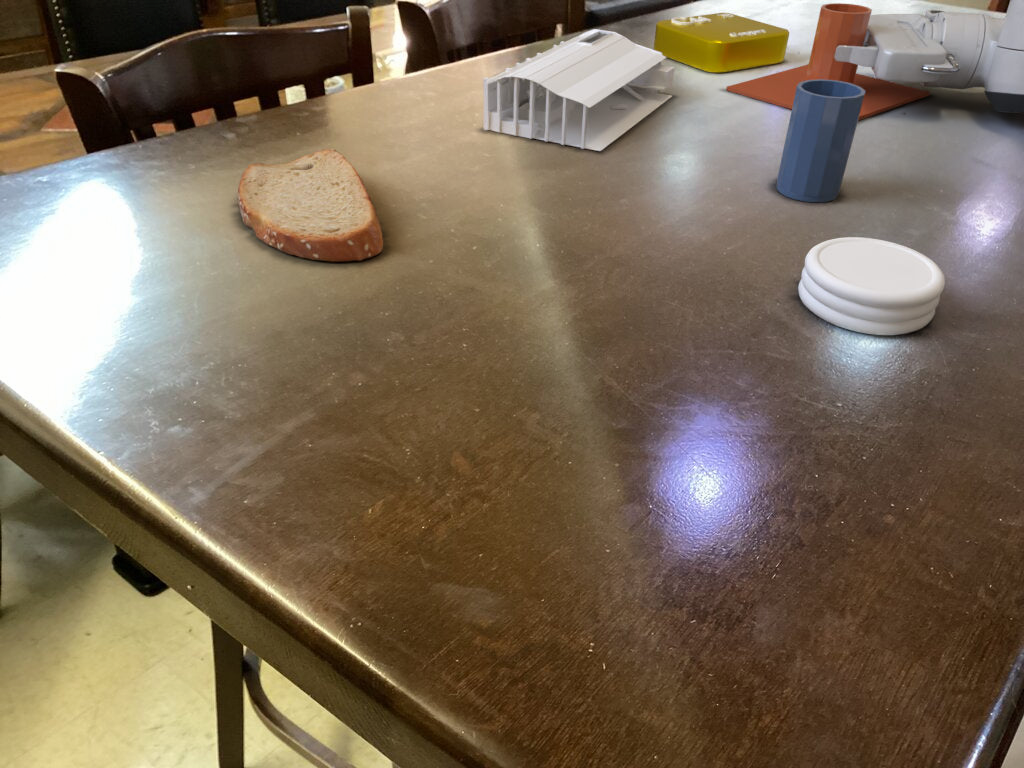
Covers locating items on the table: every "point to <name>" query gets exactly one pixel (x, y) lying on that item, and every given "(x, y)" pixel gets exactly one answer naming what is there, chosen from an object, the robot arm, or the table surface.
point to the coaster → (870, 285)
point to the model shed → (578, 91)
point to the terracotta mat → (785, 83)
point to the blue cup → (819, 139)
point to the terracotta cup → (837, 40)
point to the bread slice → (311, 208)
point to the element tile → (721, 42)
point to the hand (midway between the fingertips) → (831, 43)
